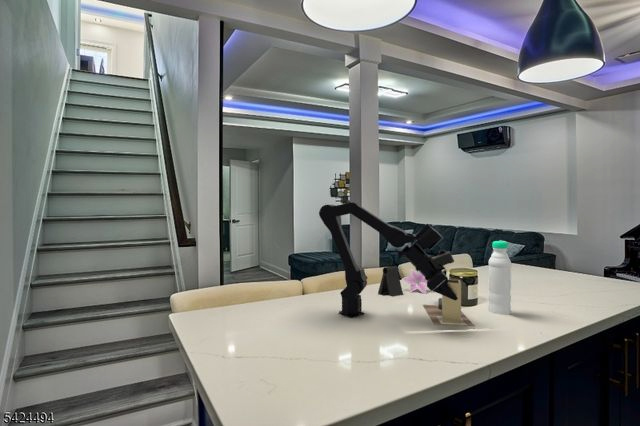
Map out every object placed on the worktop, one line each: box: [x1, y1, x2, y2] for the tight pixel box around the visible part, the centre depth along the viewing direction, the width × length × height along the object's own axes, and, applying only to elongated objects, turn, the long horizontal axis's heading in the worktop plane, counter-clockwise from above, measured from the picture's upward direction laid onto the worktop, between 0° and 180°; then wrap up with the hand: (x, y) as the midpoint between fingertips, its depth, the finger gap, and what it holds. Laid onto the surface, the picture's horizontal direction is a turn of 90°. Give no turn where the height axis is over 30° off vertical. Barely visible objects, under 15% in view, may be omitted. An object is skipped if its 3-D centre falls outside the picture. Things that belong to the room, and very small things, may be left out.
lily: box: [400, 268, 427, 295], centre depth 156 cm, size 12×12×10 cm
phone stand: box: [377, 265, 404, 298], centre depth 149 cm, size 9×6×12 cm, turn 32°
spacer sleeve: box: [441, 278, 462, 324], centre depth 114 cm, size 5×5×12 cm
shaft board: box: [422, 297, 476, 330], centre depth 120 cm, size 22×12×4 cm, turn 174°
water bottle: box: [487, 240, 512, 315], centre depth 123 cm, size 7×7×25 cm
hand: (455, 295), depth 113 cm, fingers open, 9 cm apart
